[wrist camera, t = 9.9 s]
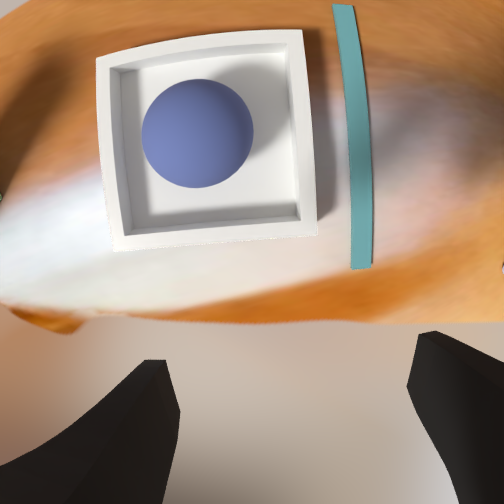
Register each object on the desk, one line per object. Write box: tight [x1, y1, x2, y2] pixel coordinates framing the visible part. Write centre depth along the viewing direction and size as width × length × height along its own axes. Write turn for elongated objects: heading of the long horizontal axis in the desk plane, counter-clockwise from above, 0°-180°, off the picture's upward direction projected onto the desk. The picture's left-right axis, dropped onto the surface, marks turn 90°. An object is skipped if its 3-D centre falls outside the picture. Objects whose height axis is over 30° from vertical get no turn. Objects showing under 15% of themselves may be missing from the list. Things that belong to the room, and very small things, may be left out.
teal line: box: [332, 4, 372, 270], centre depth 16 cm, size 16×1×1 cm, turn 4°
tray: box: [96, 30, 317, 252], centre depth 15 cm, size 11×11×2 cm
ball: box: [141, 79, 254, 188], centre depth 13 cm, size 5×5×5 cm
